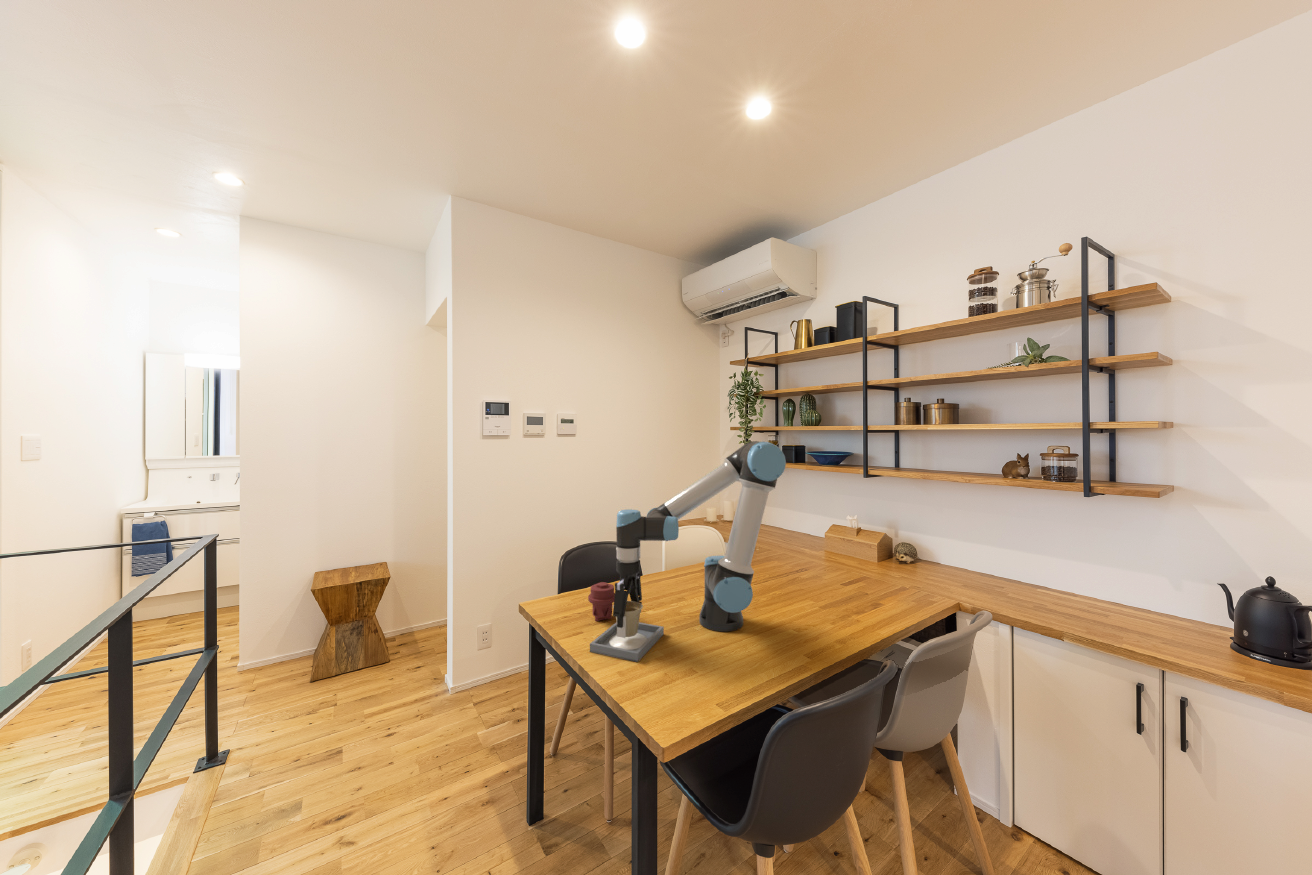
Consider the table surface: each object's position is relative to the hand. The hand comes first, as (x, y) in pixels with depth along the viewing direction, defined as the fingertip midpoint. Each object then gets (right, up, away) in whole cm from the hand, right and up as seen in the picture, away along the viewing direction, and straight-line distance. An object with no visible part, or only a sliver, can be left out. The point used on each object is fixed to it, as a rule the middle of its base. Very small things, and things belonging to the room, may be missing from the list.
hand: (628, 630), depth 146 cm
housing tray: (0, -4, 0) cm, 4 cm away
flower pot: (0, -1, 0) cm, 1 cm away
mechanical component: (-10, -4, +19) cm, 22 cm away
